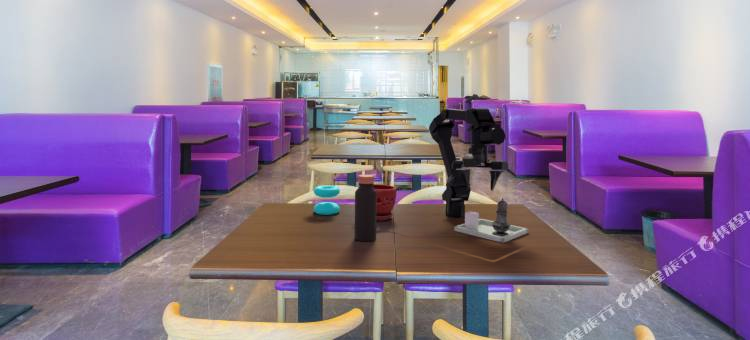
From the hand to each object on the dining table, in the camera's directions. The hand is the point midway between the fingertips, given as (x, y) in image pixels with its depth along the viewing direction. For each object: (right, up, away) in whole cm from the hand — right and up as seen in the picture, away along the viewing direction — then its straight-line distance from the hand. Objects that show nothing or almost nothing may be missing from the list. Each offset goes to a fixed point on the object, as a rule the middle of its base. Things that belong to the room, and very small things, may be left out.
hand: (479, 189), depth 158 cm
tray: (+2, -14, -7) cm, 16 cm away
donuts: (-55, -10, +18) cm, 59 cm away
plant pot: (-35, -11, +11) cm, 39 cm away
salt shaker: (+4, -14, -10) cm, 18 cm away
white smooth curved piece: (-4, -13, -6) cm, 15 cm away
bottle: (-39, -15, -15) cm, 45 cm away
